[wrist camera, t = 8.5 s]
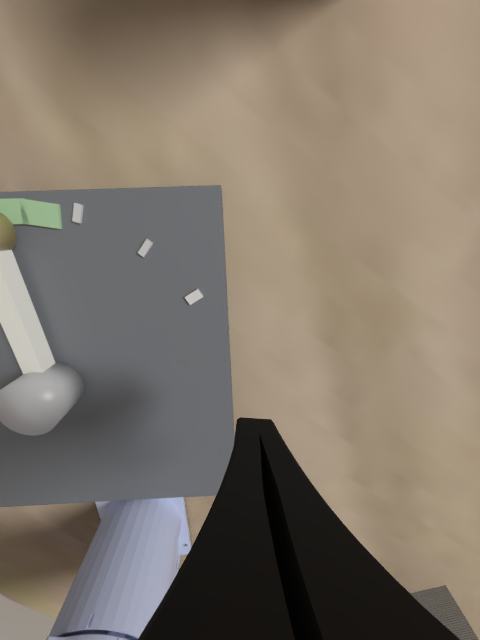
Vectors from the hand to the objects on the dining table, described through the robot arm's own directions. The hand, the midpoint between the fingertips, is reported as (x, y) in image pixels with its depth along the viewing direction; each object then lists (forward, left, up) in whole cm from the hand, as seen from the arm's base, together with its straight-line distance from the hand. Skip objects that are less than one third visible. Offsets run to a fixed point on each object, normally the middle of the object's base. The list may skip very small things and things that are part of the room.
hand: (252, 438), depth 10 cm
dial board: (-2, +13, -9) cm, 16 cm away
